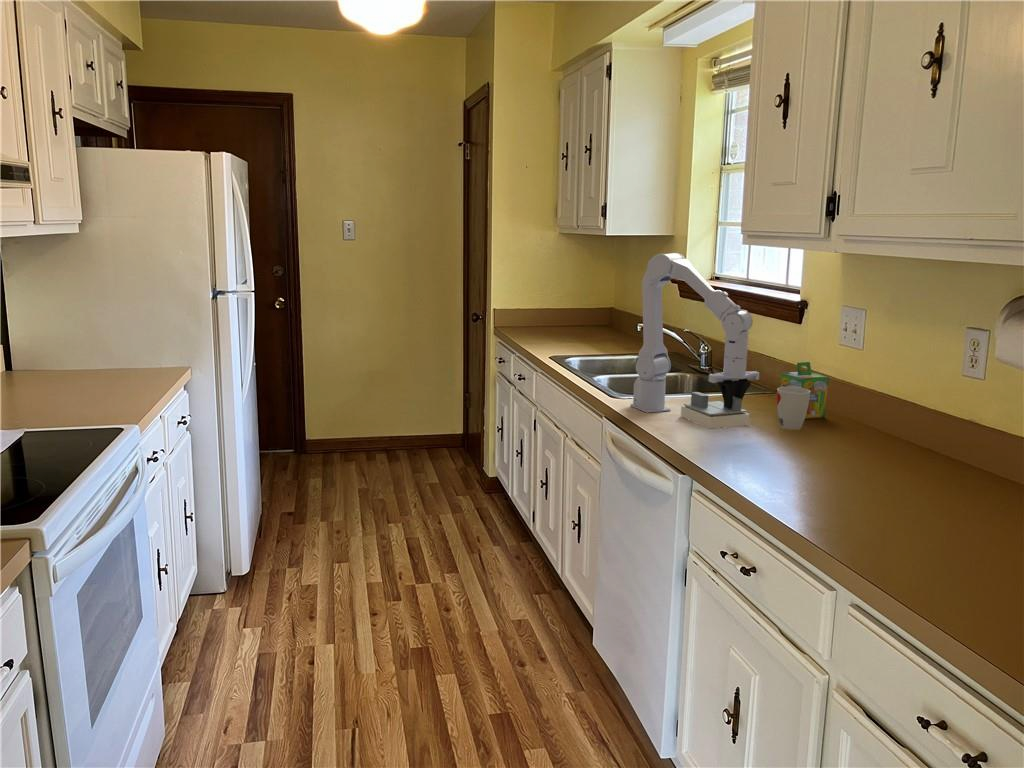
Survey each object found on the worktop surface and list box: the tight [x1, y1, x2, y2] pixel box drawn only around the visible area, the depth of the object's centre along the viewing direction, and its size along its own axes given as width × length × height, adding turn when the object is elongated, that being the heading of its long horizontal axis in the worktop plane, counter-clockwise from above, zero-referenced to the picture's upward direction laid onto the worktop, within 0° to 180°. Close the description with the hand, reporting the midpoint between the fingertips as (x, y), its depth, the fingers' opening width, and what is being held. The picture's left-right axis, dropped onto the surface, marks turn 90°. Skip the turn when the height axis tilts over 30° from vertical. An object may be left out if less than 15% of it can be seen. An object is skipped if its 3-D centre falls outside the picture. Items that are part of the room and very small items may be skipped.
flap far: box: [708, 396, 748, 414], centre depth 216 cm, size 12×6×4 cm, turn 21°
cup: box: [776, 386, 810, 431], centre depth 209 cm, size 8×8×10 cm
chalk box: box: [780, 361, 830, 420], centre depth 222 cm, size 9×9×15 cm
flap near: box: [683, 391, 728, 415], centre depth 214 cm, size 12×6×4 cm, turn 21°
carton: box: [680, 405, 751, 429], centre depth 216 cm, size 14×12×3 cm
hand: (732, 407), depth 213 cm, fingers closed on flap far, 2 cm apart
